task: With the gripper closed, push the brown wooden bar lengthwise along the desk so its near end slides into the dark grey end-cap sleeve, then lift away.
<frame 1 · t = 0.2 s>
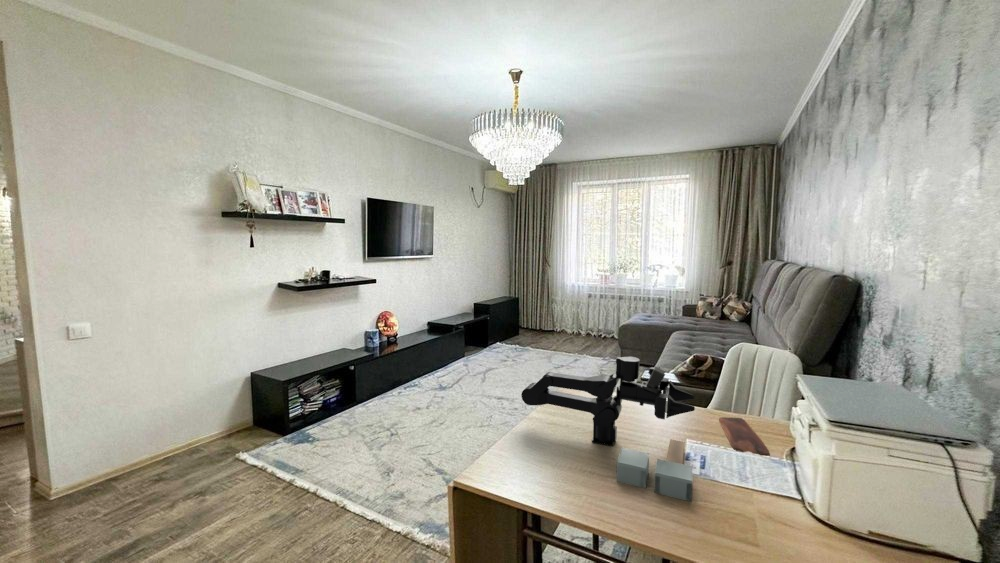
hand: (694, 402, 115), 17 cm above the table, tool horizontal, fingers open, 9 cm apart
end cap: (673, 489, 101), on the table
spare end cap: (632, 476, 107), on the table
brown wooden bar: (675, 464, 114), on the table
wooden tablet: (740, 436, 132), on the table
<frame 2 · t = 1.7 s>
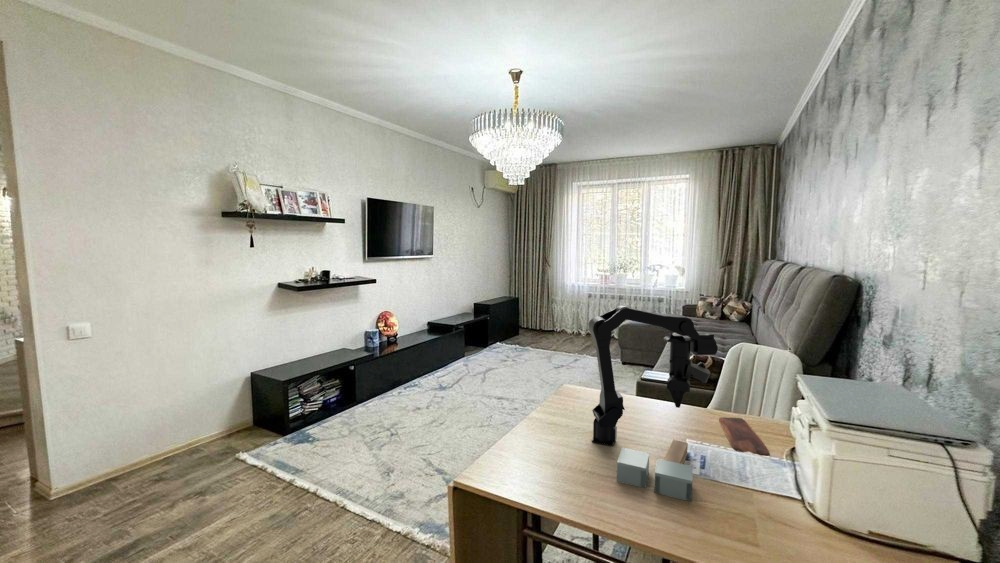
hand: (678, 403, 126), 12 cm above the table, tool pointing down, fingers open, 6 cm apart
nothing on the table moved.
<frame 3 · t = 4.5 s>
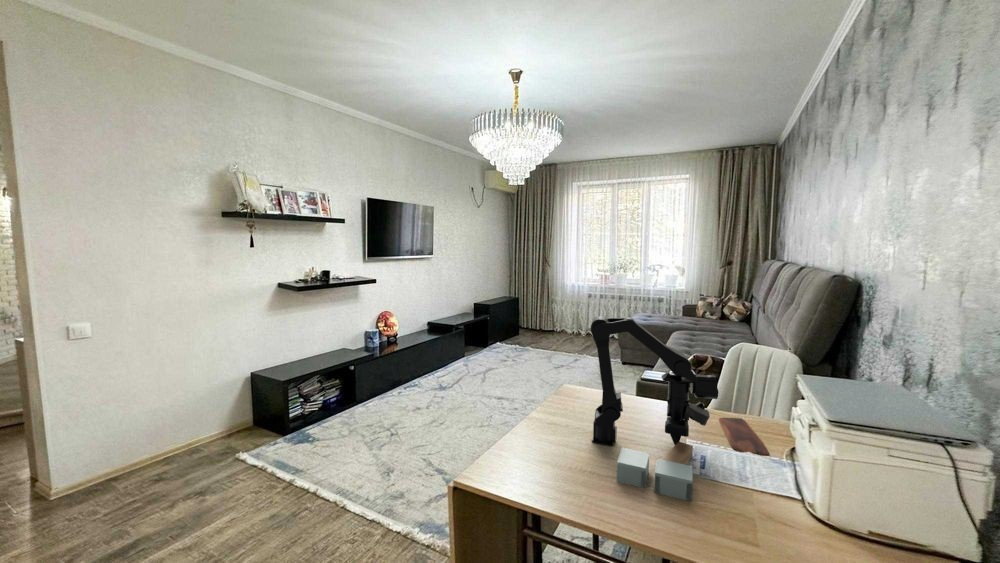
hand: (676, 445, 121), 1 cm above the table, tool pointing down, fingers closed
brown wooden bar: (676, 465, 113), on the table, touching gripper
everything else where it was.
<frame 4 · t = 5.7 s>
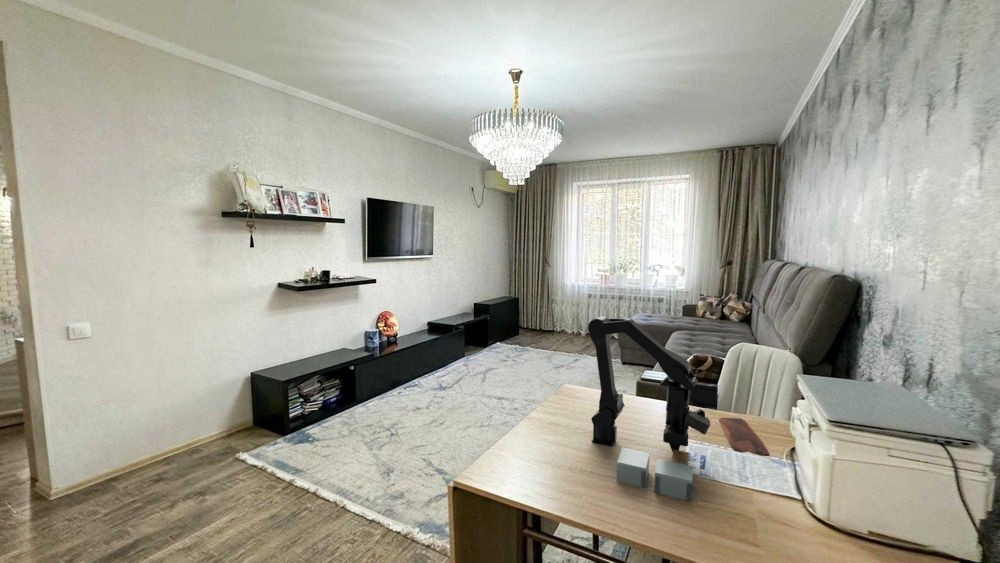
hand: (675, 454, 116), 1 cm above the table, tool pointing down, fingers closed
brown wooden bar: (678, 476, 107), on the table
everything else where it was.
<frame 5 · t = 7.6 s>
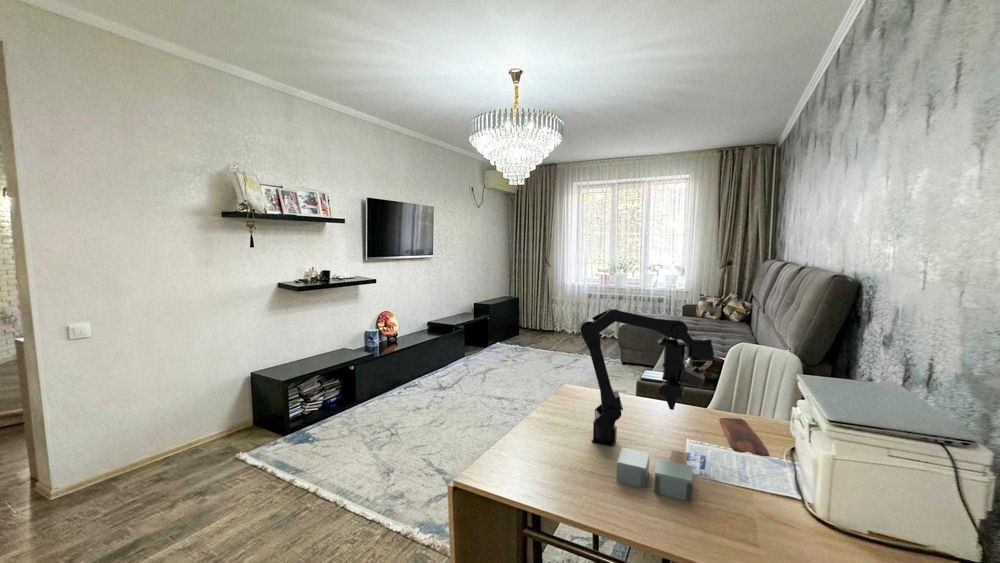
hand: (671, 409, 122), 12 cm above the table, tool pointing down, fingers closed
nothing on the table moved.
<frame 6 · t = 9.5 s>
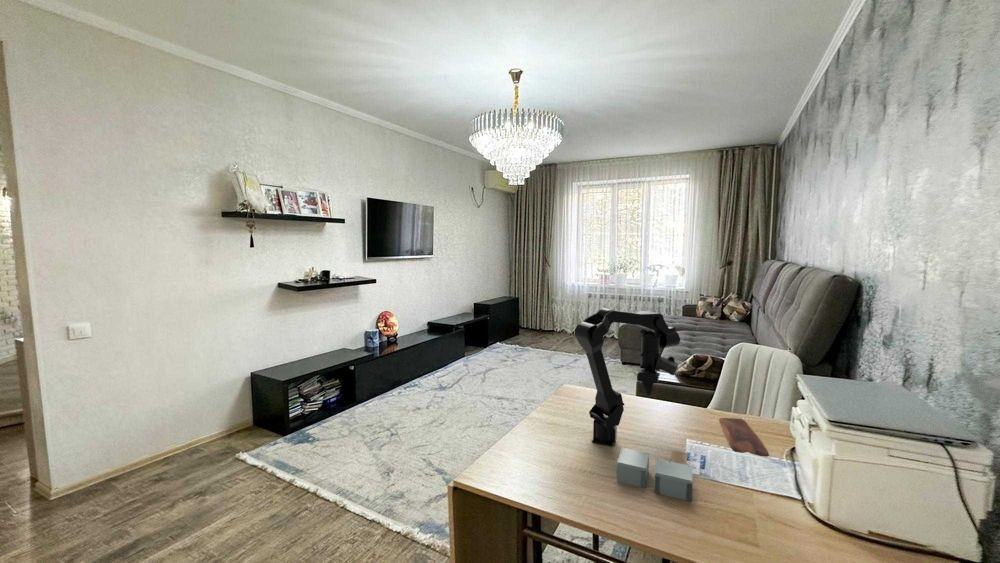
hand: (649, 395, 133), 12 cm above the table, tool pointing down, fingers closed
nothing on the table moved.
at the end: brown wooden bar inside the target area (1.1 cm from its centre), on the table; brown wooden bar tilted 0° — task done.
